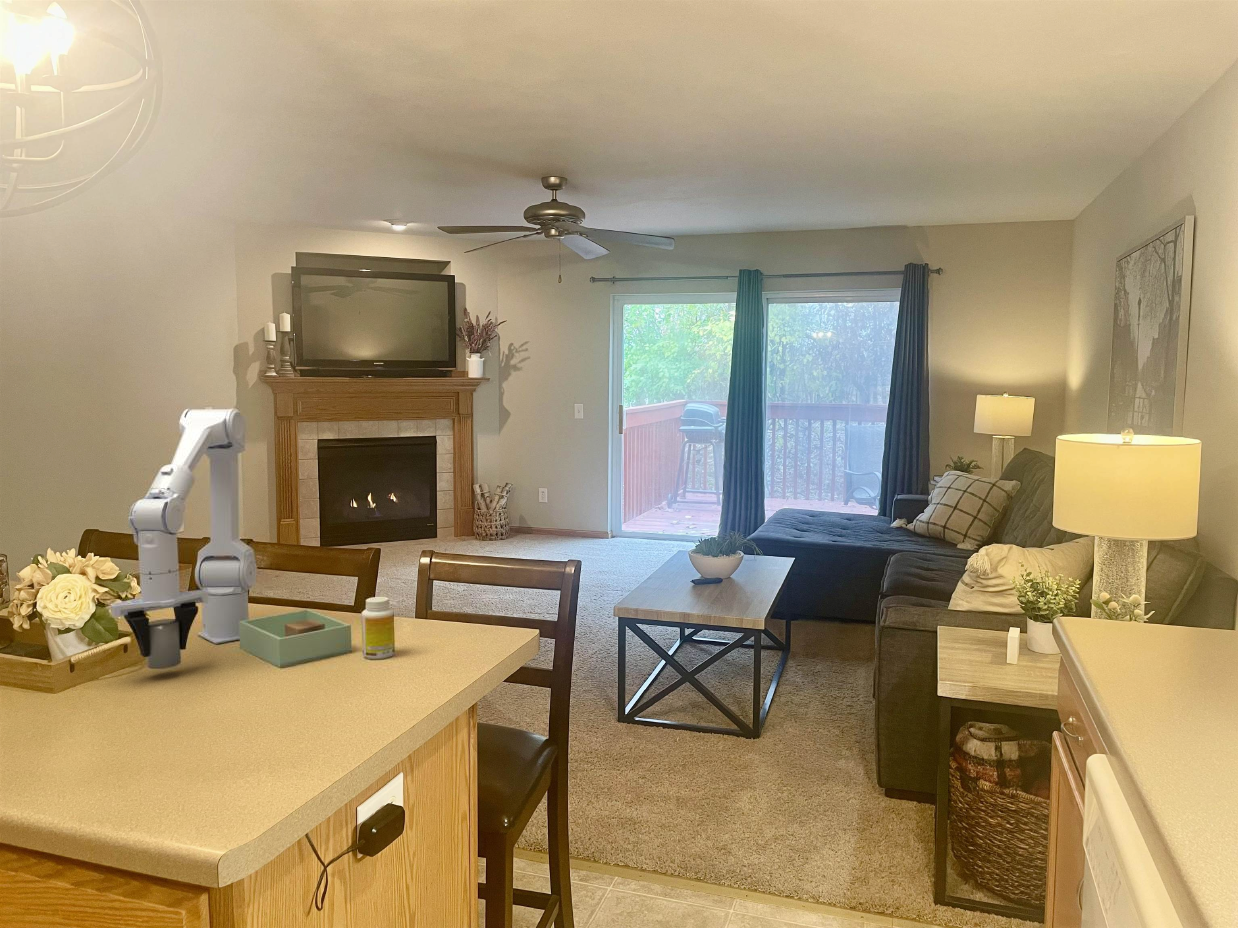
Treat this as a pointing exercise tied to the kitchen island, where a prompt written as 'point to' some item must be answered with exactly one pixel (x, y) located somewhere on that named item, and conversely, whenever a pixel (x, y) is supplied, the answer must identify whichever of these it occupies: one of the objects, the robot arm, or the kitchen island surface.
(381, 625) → the supplement bottle
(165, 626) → the cylinder
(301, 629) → the cube
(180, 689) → the kitchen island surface
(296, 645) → the tote
